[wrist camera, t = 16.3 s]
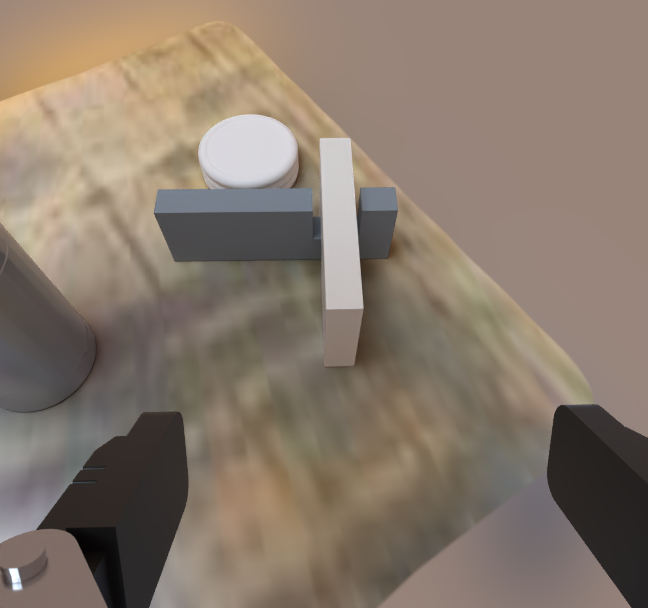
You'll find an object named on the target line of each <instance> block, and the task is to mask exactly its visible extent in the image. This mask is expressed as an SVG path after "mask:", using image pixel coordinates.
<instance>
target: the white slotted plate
mask: <svg viewBox="0 0 648 608" xmlns="http://www.w3.org/2000/svg"><path fill="white" fill-rule="evenodd" d="M319 217H320V218H321V248H322V249H321V281H322V312H323V343H324V367H333V366H354V363H355V357H356V351H357V345H358V339H359V333H360V327H361V321H362V315H363V309H364V308H363V295H362V283H361V270H360V257H359V244H358V231H357V218H356V205H355V192H354V179H353V167H352V154H351V141H350V138H320V200H319Z"/></svg>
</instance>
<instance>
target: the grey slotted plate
mask: <svg viewBox="0 0 648 608" xmlns="http://www.w3.org/2000/svg"><path fill="white" fill-rule="evenodd" d="M397 212H398V207H397V198H396V190H395V187H381V188H360V197H359V206H358V215H357V216H356V218H357V231H358V244H359V257H360V259H388V254H389V250H390V245H391V240H392V236H393V231H394V226H395V222H396V217H397ZM154 215H155V217H156V219H157V221H158V224H159V226H160V228H161V231H162V233H163V235H164V238H165V240H166V242H167V245H168V247H169V249H170V251H171V254H172V256H173V258H174V261H232V260H310V259H321V249H322V248H321V218H320V217H313V212H312V188H277V189H172V190H158V192H157V198H156V203H155V209H154Z"/></svg>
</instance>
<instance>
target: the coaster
mask: <svg viewBox="0 0 648 608" xmlns="http://www.w3.org/2000/svg"><path fill="white" fill-rule="evenodd" d="M198 157H199V162H200V165H201V170H202V172H203V177H204V180H205V182H206V184H207V186H208V187H209V188H210V189H277V188H291V187H292V185H293V184H294V182H295V180H296V178H297V175H298V171H299V163H298V145H297V142H296V139H295V137H294V135H293V133H292V132H291V131H290V130H289V129H288V127H286V126H285V125H284V124H283V123H281V122H279V121H277V120H275V119H273V118H270V117H267V116H262V115H255V114H247V115H238V116H234V117H231V118H228V119H225V120H223V121H221V122H219V123H217V124H216V125H214V126H213V127H212V128H210V129H209V130H208V131H207V132H206V134H205V135H204V136H203V138H202V140H201V142H200V145H199V151H198Z"/></svg>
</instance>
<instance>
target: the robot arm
mask: <svg viewBox="0 0 648 608" xmlns="http://www.w3.org/2000/svg"><path fill="white" fill-rule="evenodd" d="M95 355H96V342H95V336H94V334H93V332H92V330H91V328H90V327H89V325H88V324H87V323H86V322H85V321H84V319H83V318H82V317H81V316H80V315H79V314H78V312H77V311H76V310H75V309H74V308H73V307H72V305H71V304H70V303H69V302H68V300H67V299H66V298H65V297H64V296H63V295H62V293H61V292H60V291H59V290H58V289H57V288H56V287H55V285H54V284H53V283H52V282H51V281H50V280H49V278H48V277H47V276H46V275H45V274H44V273H43V272H42V270H41V269H40V268H39V267H38V266H37V265H36V263H35V262H34V261H33V260H32V259H31V258H30V257H29V255H28V254H27V253H26V252H25V251H24V250H23V248H22V247H21V246H20V245H19V244H18V243H17V242H16V240H15V239H14V238H13V237H12V236H11V235H10V233H9V232H8V231H7V230H6V229H5V228H4V227H3V225H2V224H1V223H0V406H1V407H3V408H5V409H7V410H11V411H16V412H33V411H38V410H42V409H45V408H48V407H51V406H53V405H56V404H57V403H59V402H61V401H62V400H64V399H66V398H67V397H68V396H70V395H71V394H72V393H73V392H74V391H75V390H77V389H78V388H79V386H80V385H81V384H82V383H83V382H84V380H85V379H86V378H87V376H88V374H89V372H90V370H91V369H92V366H93V363H94V360H95ZM547 478H548V485H549V489H550V492H551V494H552V497H553V498H554V500H555V502H556V503H557V505H558V506H559V507H560V509H561V510H562V511H563V513H564V514H565V516H566V517H567V519H568V520H569V521H570V523H571V524H572V525H573V527H574V528H575V530H576V531H577V532H578V534H579V535H580V537H581V538H582V539H583V541H584V542H585V544H586V545H587V546H588V548H589V549H590V551H591V552H592V553H593V555H594V556H595V557H596V559H597V560H598V562H599V563H600V564H601V566H602V567H603V569H604V570H605V571H606V573H607V574H608V576H609V577H610V578H611V580H612V581H613V582H614V584H615V585H616V586H617V588H618V589H619V591H620V592H621V594H622V595H623V596H624V598H625V599H626V601H627V602H628V603H629V605H630V606H631V608H648V438H647V437H645V436H643V435H641V434H639V433H637V432H635V431H633V430H631V429H629V428H627V427H624V426H623V425H622V424H621V423H620V422H618V421H617V420H616V419H615V418H614V417H612V416H611V415H610V414H609V413H608V412H607V411H605V410H604V409H603V408H602V407H600V406H599V405H595V404H592V405H560V406H559V407H558V408H557V409H556V411H555V414H554V420H553V427H552V435H551V443H550V451H549V459H548V467H547ZM187 496H188V468H187V457H186V446H185V436H184V425H183V418H182V415H181V413H180V412H144V413H142V414H141V416H140V417H139V419H138V420H137V422H136V423H135V425H134V426H133V428H132V429H131V431H130V432H129V434H128V435H127V436H116V437H114V438H113V439H111V440H110V441H108V442H107V443H106V444H104V445H103V446H101V447H100V448H98V449H97V450H95V452H94V453H93V454H92V456H91V457H90V458H89V460H88V461H87V462H86V464H85V465H84V466H83V470H80V472H79V473H78V474H77V476H76V477H75V478H74V480H73V484H70V485H69V486H68V488H67V489H66V491H65V492H64V493H63V495H62V496H61V497H60V499H59V500H58V501H57V503H56V504H55V505H54V507H53V508H52V509H51V511H50V512H49V513H48V515H47V516H46V517H45V519H44V520H43V521H42V523H41V524H40V525H39V527H38V528H37V529H36V530H35V531H31V532H27V533H23V534H21V535H18V536H15V537H13V538H10V539H8V540H6V541H4V542H2V543H1V544H0V608H149V606H150V603H151V600H152V598H153V595H154V592H155V589H156V587H157V584H158V581H159V578H160V576H161V573H162V570H163V567H164V565H165V562H166V559H167V556H168V553H169V551H170V548H171V545H172V542H173V540H174V537H175V534H176V531H177V529H178V526H179V523H180V520H181V518H182V515H183V512H184V509H185V506H186V502H187Z"/></svg>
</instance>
